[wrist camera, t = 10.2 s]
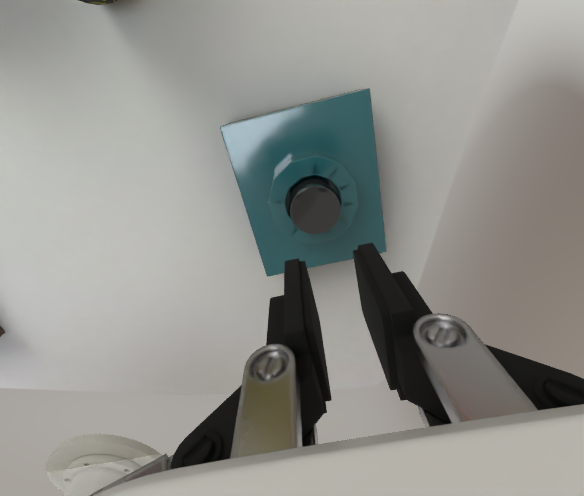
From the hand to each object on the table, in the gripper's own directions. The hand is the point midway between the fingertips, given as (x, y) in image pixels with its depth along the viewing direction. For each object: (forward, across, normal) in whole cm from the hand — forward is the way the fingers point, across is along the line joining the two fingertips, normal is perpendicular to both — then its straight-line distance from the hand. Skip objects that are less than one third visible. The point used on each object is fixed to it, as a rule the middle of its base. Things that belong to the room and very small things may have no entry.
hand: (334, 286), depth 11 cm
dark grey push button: (+11, 0, 0) cm, 11 cm away
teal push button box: (+15, 0, 0) cm, 15 cm away
